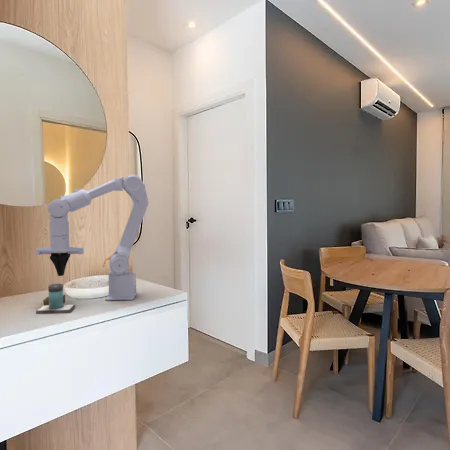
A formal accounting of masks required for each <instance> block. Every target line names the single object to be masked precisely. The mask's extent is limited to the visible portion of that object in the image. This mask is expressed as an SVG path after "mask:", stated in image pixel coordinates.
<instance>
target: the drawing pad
mask: <svg viewBox="0 0 450 450" xmlns="http://www.w3.org/2000/svg"><path fill="white" fill-rule="evenodd" d="M76 307H77V305H76V304H63V307H62V308H59V309H49V305H42V306H41V307H39V308H38V309H37V310H36V311H35V314H36V315H38V314H41V315H42V314H43V315H44V314H70V313H71V312H73V310H74V309H76Z"/></svg>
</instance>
